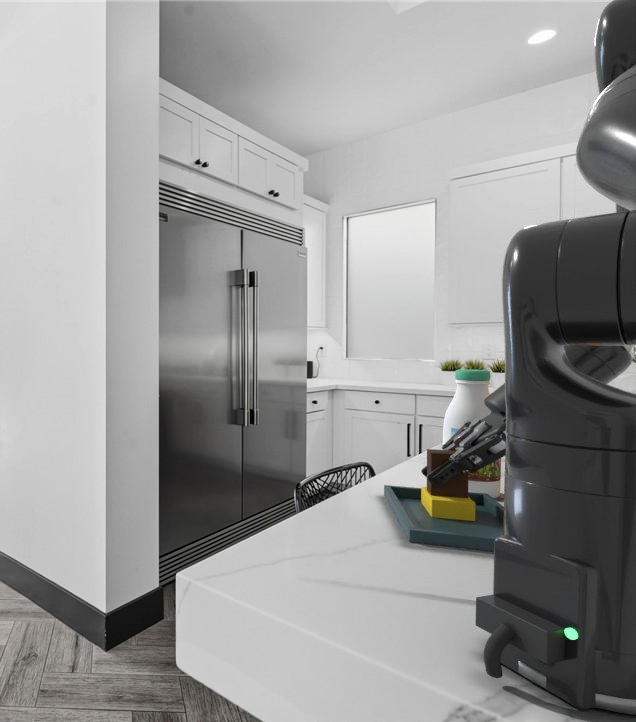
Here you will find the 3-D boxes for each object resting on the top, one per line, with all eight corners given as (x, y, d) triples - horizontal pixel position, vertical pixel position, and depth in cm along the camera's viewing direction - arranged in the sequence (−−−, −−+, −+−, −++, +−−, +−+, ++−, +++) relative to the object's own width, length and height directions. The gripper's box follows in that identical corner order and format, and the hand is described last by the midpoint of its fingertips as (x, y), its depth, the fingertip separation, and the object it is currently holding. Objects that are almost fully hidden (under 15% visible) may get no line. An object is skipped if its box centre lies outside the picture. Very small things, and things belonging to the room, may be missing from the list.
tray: (550, 563, 59) (551, 545, 58) (409, 546, 64) (409, 529, 63) (487, 507, 79) (487, 493, 79) (383, 497, 84) (384, 484, 84)
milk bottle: (431, 490, 88) (433, 369, 87) (459, 485, 91) (462, 368, 90) (481, 502, 81) (484, 371, 80) (510, 496, 84) (513, 370, 83)
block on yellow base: (475, 521, 71) (475, 458, 70) (431, 517, 72) (432, 455, 72) (460, 506, 77) (461, 448, 77) (421, 503, 79) (421, 446, 79)
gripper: (496, 374, 78) (399, 450, 83) (534, 380, 65) (417, 471, 70) (539, 411, 76) (438, 487, 81) (588, 426, 63) (464, 515, 68)
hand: (429, 479), depth 75 cm, fingers closed on block on yellow base, 3 cm apart
